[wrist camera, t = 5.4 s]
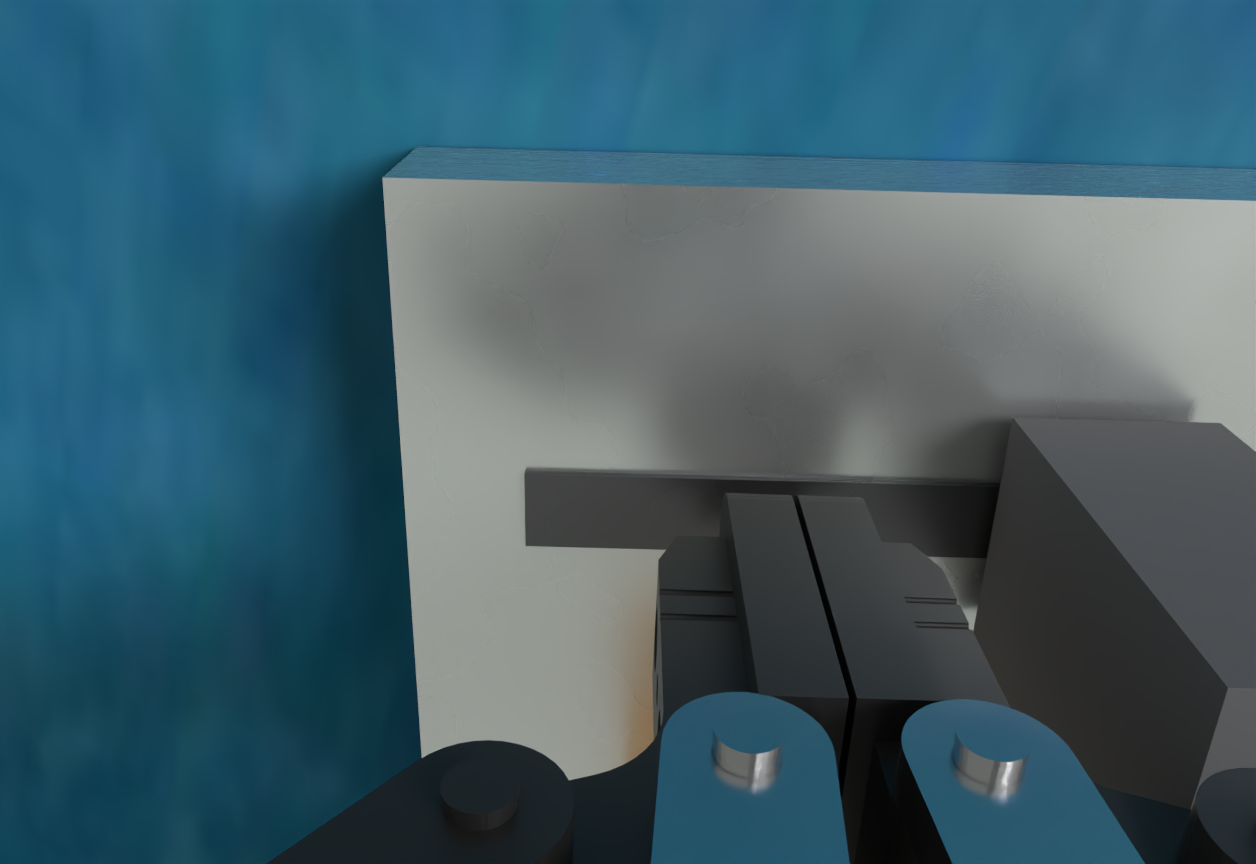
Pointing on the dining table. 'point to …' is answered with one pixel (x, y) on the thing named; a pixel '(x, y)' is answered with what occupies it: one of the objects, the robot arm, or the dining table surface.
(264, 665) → the dining table surface
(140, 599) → the dining table surface
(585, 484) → the console
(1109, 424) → the block
